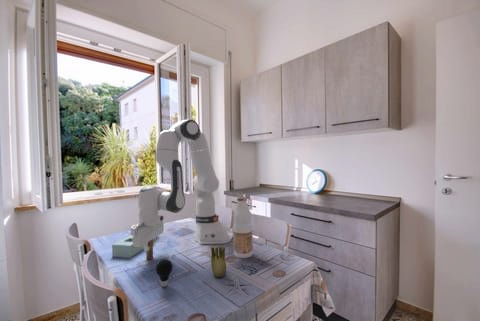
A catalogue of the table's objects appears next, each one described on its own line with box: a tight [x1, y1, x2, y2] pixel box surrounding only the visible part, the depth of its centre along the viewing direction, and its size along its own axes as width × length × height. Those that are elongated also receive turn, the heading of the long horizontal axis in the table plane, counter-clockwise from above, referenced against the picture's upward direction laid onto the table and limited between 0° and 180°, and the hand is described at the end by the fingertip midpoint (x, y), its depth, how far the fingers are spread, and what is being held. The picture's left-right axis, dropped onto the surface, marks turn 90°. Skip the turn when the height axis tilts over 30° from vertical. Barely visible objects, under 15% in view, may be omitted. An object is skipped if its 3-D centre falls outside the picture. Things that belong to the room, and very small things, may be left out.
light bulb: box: [155, 258, 173, 288], centre depth 84 cm, size 6×6×10 cm
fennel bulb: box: [210, 245, 227, 278], centre depth 91 cm, size 6×5×12 cm
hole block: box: [111, 234, 144, 259], centre depth 117 cm, size 10×14×6 cm
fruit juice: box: [232, 196, 254, 259], centre depth 110 cm, size 9×9×28 cm
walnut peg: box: [145, 239, 154, 261], centre depth 108 cm, size 3×3×10 cm
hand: (149, 248), depth 108 cm, fingers closed on walnut peg, 3 cm apart
